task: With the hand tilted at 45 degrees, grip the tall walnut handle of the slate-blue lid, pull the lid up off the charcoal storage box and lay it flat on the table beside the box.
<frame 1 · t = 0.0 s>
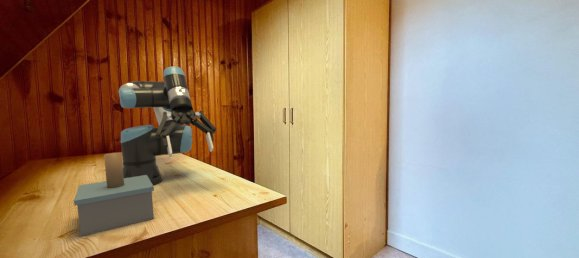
hand: (192, 152, 89), 15 cm above the table, tool tilted 35°, fingers open, 13 cm apart
storage box: (118, 217, 74), on the table
lid: (116, 190, 73), point 8 cm above the table, touching storage box
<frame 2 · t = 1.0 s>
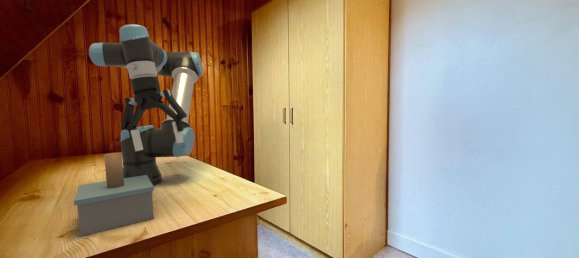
hand: (159, 146, 81), 19 cm above the table, tool pointing down, fingers open, 13 cm apart
nothing on the table moved.
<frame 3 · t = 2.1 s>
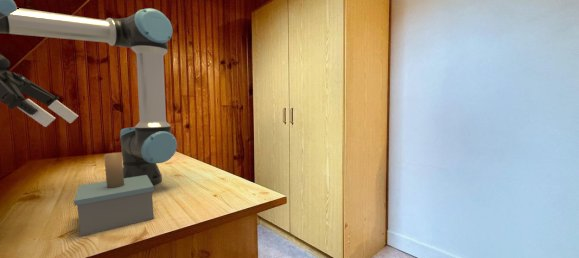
hand: (63, 121, 68), 28 cm above the table, tool tilted 45°, fingers open, 13 cm apart
nothing on the table moved.
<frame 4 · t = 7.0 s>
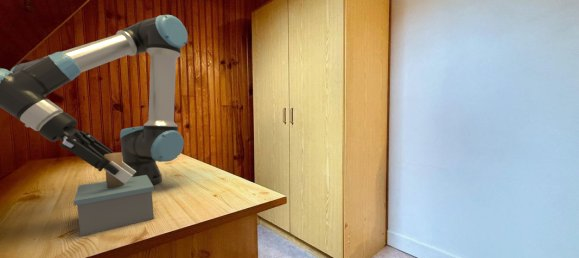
hand: (130, 177, 74), 11 cm above the table, tool tilted 45°, fingers closed on lid, 4 cm apart
lid: (116, 190, 73), point 8 cm above the table, touching gripper, storage box
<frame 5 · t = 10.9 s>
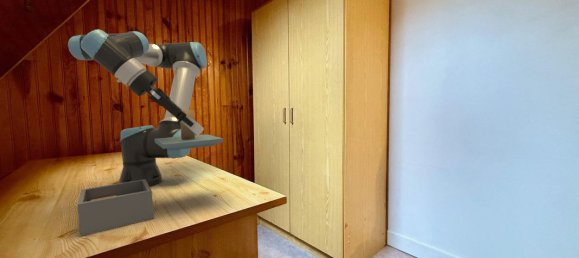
hand: (200, 131, 83), 23 cm above the table, tool tilted 45°, fingers closed on lid, 4 cm apart
lid: (188, 142, 82), point 20 cm above the table, touching gripper
when the fingers open (6 cm above the table, at t = 14.6 s): lid drops 2 cm, point 1 cm above the table.
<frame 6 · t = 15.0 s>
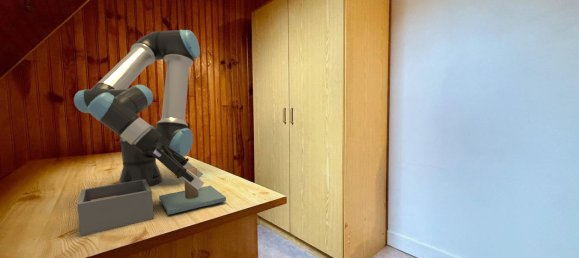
hand: (200, 181, 85), 7 cm above the table, tool tilted 45°, fingers open, 10 cm apart
lid: (192, 200, 85), point 1 cm above the table
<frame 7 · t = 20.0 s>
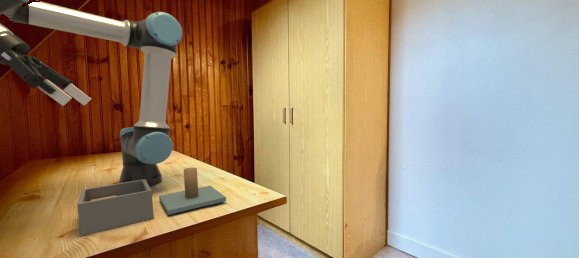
hand: (78, 102, 73), 33 cm above the table, tool tilted 45°, fingers open, 13 cm apart
nothing on the table moved.
at the end: lid inside the target area (0.0 cm from its centre), point 0.7 cm above the table; lid tilted 0°; the gripper is holding nothing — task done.
